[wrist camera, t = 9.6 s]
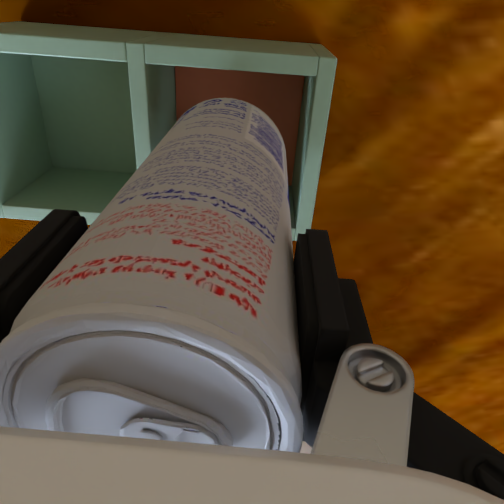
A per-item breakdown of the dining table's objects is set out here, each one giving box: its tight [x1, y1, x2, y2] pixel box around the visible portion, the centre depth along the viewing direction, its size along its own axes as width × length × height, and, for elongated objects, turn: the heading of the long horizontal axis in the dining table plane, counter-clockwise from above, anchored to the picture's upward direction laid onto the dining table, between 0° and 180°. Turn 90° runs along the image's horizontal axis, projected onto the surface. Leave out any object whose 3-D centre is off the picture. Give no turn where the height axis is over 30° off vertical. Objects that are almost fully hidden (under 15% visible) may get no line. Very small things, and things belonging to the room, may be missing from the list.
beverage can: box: [0, 98, 304, 453], centre depth 13 cm, size 6×6×15 cm
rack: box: [0, 21, 337, 241], centre depth 23 cm, size 17×9×7 cm, turn 86°
